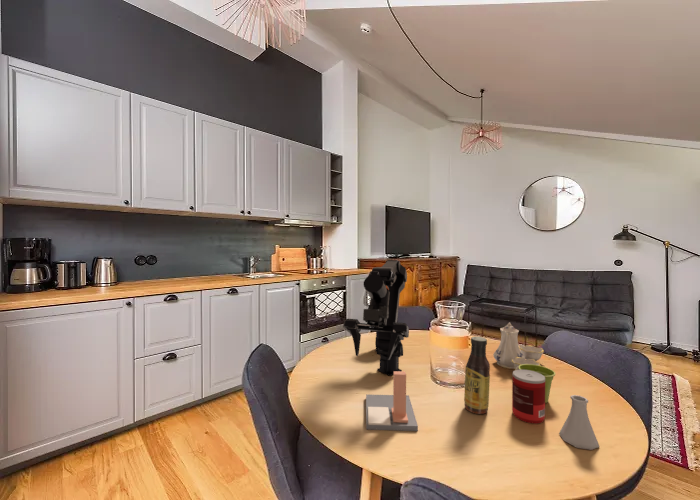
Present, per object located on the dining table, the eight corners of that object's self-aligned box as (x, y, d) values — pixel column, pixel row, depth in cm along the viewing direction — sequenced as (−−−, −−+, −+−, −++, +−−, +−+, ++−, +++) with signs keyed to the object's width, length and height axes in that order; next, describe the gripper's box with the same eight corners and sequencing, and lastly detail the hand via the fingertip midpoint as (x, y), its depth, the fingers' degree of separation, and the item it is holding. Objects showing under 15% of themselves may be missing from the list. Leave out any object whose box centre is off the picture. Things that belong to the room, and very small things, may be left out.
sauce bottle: (459, 406, 90) (459, 336, 90) (476, 402, 92) (476, 333, 92) (477, 418, 84) (477, 342, 84) (494, 413, 86) (495, 339, 86)
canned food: (541, 411, 88) (541, 371, 87) (548, 426, 80) (549, 383, 80) (510, 406, 90) (510, 367, 90) (514, 421, 82) (514, 378, 82)
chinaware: (542, 390, 104) (549, 340, 103) (487, 374, 112) (493, 328, 111) (541, 363, 128) (546, 322, 127) (496, 351, 137) (500, 313, 135)
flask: (552, 432, 78) (553, 391, 77) (580, 431, 78) (581, 390, 78) (576, 451, 70) (576, 406, 70) (606, 450, 71) (607, 405, 71)
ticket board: (417, 430, 78) (417, 424, 78) (366, 429, 79) (366, 422, 78) (408, 399, 94) (408, 394, 94) (366, 398, 94) (366, 393, 94)
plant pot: (524, 388, 101) (524, 361, 101) (558, 399, 95) (559, 369, 94) (513, 398, 95) (513, 369, 95) (550, 410, 88) (550, 378, 88)
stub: (408, 422, 79) (408, 377, 79) (393, 422, 79) (393, 377, 79) (405, 410, 85) (405, 368, 85) (391, 409, 85) (391, 368, 85)
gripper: (342, 293, 94) (332, 347, 87) (406, 297, 88) (401, 354, 81) (352, 307, 103) (344, 356, 96) (410, 310, 98) (406, 363, 90)
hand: (372, 357), depth 91 cm, fingers open, 9 cm apart
